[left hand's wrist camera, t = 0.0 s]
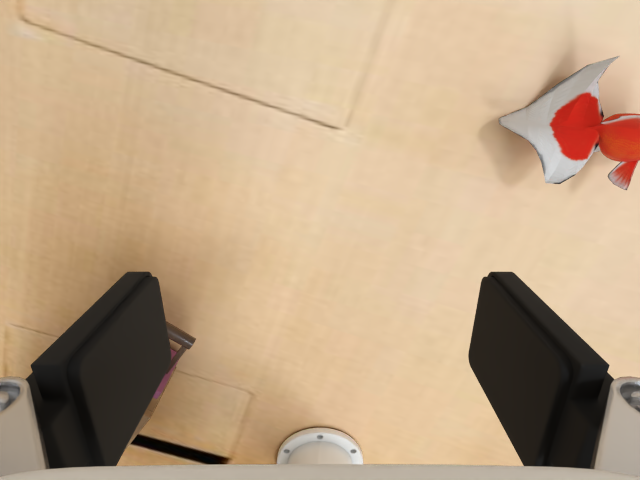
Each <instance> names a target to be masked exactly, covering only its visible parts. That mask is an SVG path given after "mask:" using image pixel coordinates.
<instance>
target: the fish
mask: <svg viewBox="0 0 640 480" xmlns="http://www.w3.org/2000/svg"><path fill="white" fill-rule="evenodd" d="M618 57H619V56H618ZM618 57H614V58H611V59H607V60H604V61H600V62H597V63H593V64H590V65H587V66H585V67H584V68H582V69H581V70H579V71H577V72H576V73H574V74H573V75H571V76H570V77H568V78H566V79H565V80H563V81H562V82H560V83H558V84H557V85H556V86H554V87H553V88H552V89H551V90H549V91H548V92H547V93H545V94H544V95H543V96H541V97H540V98H539V99H537V100H536V101H534V102H533V103H532V104H530V105H529V106H528V107H526V108H523V109H521V110H518V111H515V112H513V113H511V114H508V115H506V116H503V117H501V118H499V124H500V125H502V126H503V127H505V128H507V129H509V130H511V131H513V132H514V133H516V134H518V135H520V136H521V137H523V138H525V139H526V140H528V141H529V142H530V143H531V144H532V146H533V147H534V148H535V149H536V151H537V153H538V156H539V158H540V160H541V162H542V167H543V171H544V176H545V183H553V184H561V183H562V182H564V181H566V180H567V179H569V178H571V177H572V176H574V175H575V174H576V173H577V172H578V171H579V170H580V169H581V168H582V167H583V166H584V165H585V164H586V162H587V161H588V159H589V158H590V157H591V155H592V154H593V152H597V151H601V152H602V153H603V154H604V155H605V156H606V157H607V158H609V159H611V160H615V161H621V163H619V164H618V165H617V166H616V167H615V168H614V169H613V170H612V171H611V172H610V173H609V174H608V178H609V179H610V180H611V182H612V183H613V184H614V185H616V186H618V187H620V188H622V189H624V190H627V188H628V186H629V184H630V181H631V178H632V175H633V172H634V169H635V167H636V165H637V163H638V161H639V160H640V114H615V115H613V116H610V117H609V118H607V119H605V120H604V121H602V120H603V117H604V115H603V112H602V108H601V105H600V102H599V88H598V80H599V79H600V77H601V76H602V74H603V73H604V72H605V70H606V69H607V67H608V66H609V65H610V64H611V63H612V62H613V61H614V60H615V59H617V58H618Z"/></svg>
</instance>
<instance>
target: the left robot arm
mask: <svg viewBox="0 0 640 480" xmlns="http://www.w3.org/2000/svg"><path fill="white" fill-rule="evenodd" d="M170 363H171V349H170V343H169V337H168V332H167V326H166V320H165V315H164V309H163V304H162V298H161V292H160V287H159V282H158V279H157V278H156V277H152V275H151V273H150V272H127V273H126V274H125V275H124V276H122V277H121V278H120V279H119V280H118V281H117V282H116V283H115V284H114V285H113V286H112V287H111V288H110V289H109V290H108V291H107V292H106V293H105V294H104V295H103V296H102V297H101V298H100V299H99V300H98V301H97V302H96V303H95V304H93V305H92V306H91V307H90V308H89V309H88V310H87V311H86V312H85V313H84V314H83V315H82V316H81V317H80V318H79V319H78V320H77V321H76V322H75V323H74V324H73V325H72V326H71V327H70V328H69V329H68V330H67V331H66V332H65V333H63V334H62V335H61V336H60V337H59V338H58V339H57V340H56V341H55V342H54V343H53V344H52V345H51V346H50V347H49V348H48V349H47V350H46V351H45V352H44V353H43V354H42V355H41V356H40V357H39V358H38V359H37V360H36V361H34V362H33V363H32V364H31V368H32V371H33V373H32V374H31V375H30V376H29V377H28V378H27V379H26V380H25V379H23V378H20V377H3V378H0V480H640V378H637V377H620V378H617V379H615V380H614V379H613V378H612V377H611V376H610V375H609V374H608V373H607V371H608V368H609V364H608V363H607V362H606V361H604V360H603V359H602V358H601V357H600V356H599V355H598V354H597V353H596V352H595V351H594V350H593V349H592V348H591V347H590V346H589V345H588V344H587V343H586V342H585V341H584V340H583V339H582V338H581V337H580V336H579V335H578V334H577V333H575V332H574V331H573V330H572V329H571V328H570V327H569V326H568V325H567V324H566V323H565V322H564V321H563V320H562V319H561V318H560V317H559V316H558V315H557V314H556V313H555V312H554V311H553V310H552V309H551V308H550V307H549V306H548V305H547V304H545V303H544V302H543V301H542V300H541V299H540V298H539V297H538V296H537V295H536V294H535V293H534V292H533V291H532V290H531V289H530V288H529V287H528V286H527V285H526V284H525V283H524V282H523V281H522V280H521V279H520V278H519V277H518V276H516V275H515V274H514V273H513V272H490V273H489V275H488V277H484V278H483V279H482V282H481V287H480V292H479V298H478V304H477V309H476V315H475V320H474V326H473V332H472V337H471V343H470V349H469V363H470V366H471V368H472V370H473V372H474V374H475V376H476V377H477V379H478V381H479V383H480V385H481V387H482V389H483V390H484V392H485V394H486V396H487V398H488V400H489V402H490V403H491V405H492V407H493V409H494V411H495V413H496V415H497V417H498V418H499V420H500V422H501V424H502V426H503V428H504V430H505V431H506V433H507V435H508V437H509V439H510V441H511V443H512V444H513V446H514V448H515V450H516V452H517V454H518V456H519V458H520V459H521V461H522V463H523V465H524V466H492V465H403V464H363V456H362V451H361V449H360V447H359V445H358V444H357V443H356V441H355V440H354V439H352V438H351V437H350V436H349V435H347V434H345V433H343V432H341V431H338V430H335V429H330V428H310V429H306V430H302V431H300V432H297V433H295V434H293V435H292V436H290V437H289V438H287V439H286V440H285V441H284V442H283V444H282V445H281V447H280V449H279V452H278V456H277V464H237V465H148V466H116V465H117V463H118V461H119V459H120V457H121V456H122V454H123V452H124V450H125V448H126V446H127V444H128V443H129V441H130V439H131V437H132V435H133V433H134V431H135V430H136V428H137V426H138V424H139V422H140V420H141V418H142V417H143V415H144V413H145V411H146V409H147V407H148V405H149V403H150V402H151V400H152V398H153V396H154V394H155V392H156V390H157V389H158V387H159V385H160V383H161V381H162V379H163V377H164V376H165V374H166V372H167V370H168V368H169V366H170Z"/></svg>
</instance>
